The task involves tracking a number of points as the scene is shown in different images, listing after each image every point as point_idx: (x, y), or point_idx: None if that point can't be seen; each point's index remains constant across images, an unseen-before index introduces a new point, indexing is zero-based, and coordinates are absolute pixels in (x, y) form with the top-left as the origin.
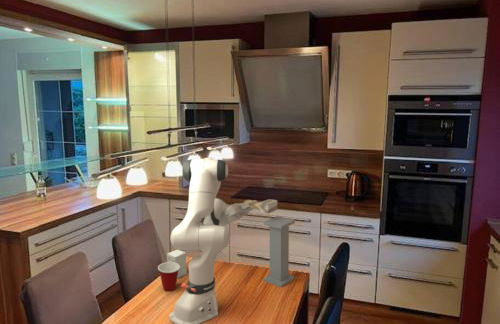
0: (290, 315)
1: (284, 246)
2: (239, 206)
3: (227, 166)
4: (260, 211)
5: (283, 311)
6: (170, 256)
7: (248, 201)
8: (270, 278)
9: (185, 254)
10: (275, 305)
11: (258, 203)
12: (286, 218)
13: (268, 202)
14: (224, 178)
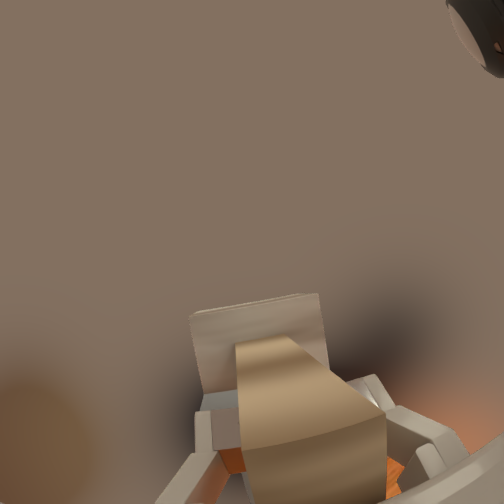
0: (387, 460)
1: None
2: (497, 449)
3: (452, 23)
4: (328, 367)
5: (393, 470)
6: None
7: (332, 383)
8: None
9: None
10: (398, 486)
11: (283, 346)
12: (204, 402)
13: (273, 299)
14: (492, 74)
